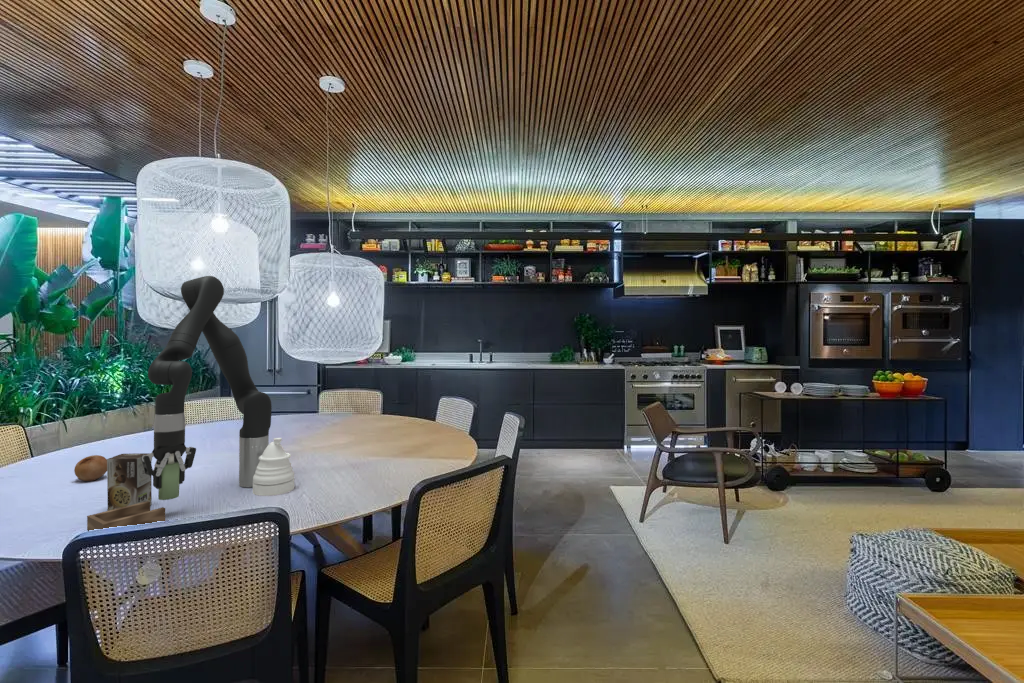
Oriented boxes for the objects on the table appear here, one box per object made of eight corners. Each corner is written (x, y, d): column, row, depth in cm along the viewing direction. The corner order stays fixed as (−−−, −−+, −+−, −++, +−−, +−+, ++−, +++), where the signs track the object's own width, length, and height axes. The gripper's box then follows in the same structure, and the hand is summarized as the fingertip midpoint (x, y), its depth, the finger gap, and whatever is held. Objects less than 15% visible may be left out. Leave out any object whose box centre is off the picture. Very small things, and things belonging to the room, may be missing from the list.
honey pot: (302, 488, 167) (302, 436, 167) (267, 498, 156) (267, 443, 156) (279, 482, 174) (280, 432, 173) (244, 491, 163) (245, 438, 162)
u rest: (147, 514, 141) (147, 500, 141) (165, 522, 135) (165, 508, 135) (87, 530, 129) (87, 515, 129) (103, 539, 123) (103, 524, 123)
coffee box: (152, 504, 149) (152, 452, 149) (137, 511, 143) (137, 458, 143) (122, 504, 149) (123, 452, 149) (106, 511, 143) (106, 458, 143)
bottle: (174, 493, 145) (175, 450, 145) (182, 496, 142) (183, 452, 142) (155, 497, 140) (155, 453, 140) (163, 501, 138) (163, 456, 138)
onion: (88, 491, 170) (80, 469, 166) (72, 481, 173) (64, 459, 169) (117, 475, 178) (111, 454, 174) (101, 465, 181) (94, 444, 177)
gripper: (190, 423, 149) (189, 478, 149) (135, 430, 137) (134, 489, 137) (202, 426, 145) (201, 482, 145) (146, 433, 133) (146, 494, 133)
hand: (168, 485), depth 141 cm, fingers closed on bottle, 5 cm apart
